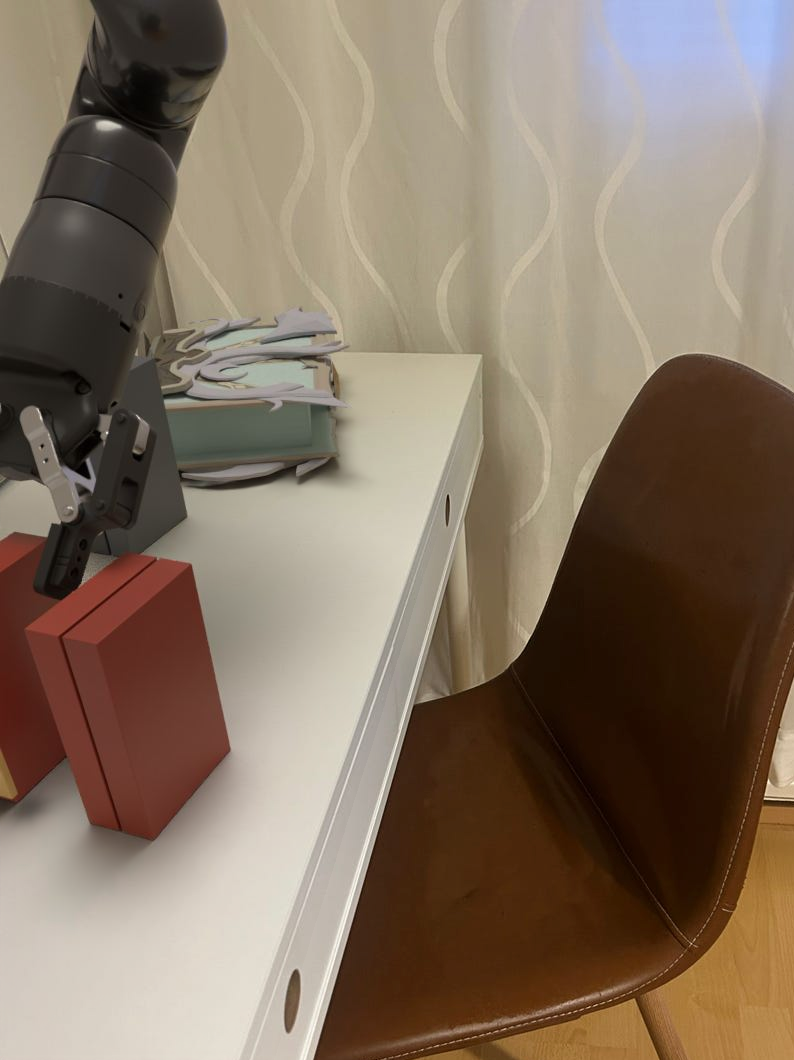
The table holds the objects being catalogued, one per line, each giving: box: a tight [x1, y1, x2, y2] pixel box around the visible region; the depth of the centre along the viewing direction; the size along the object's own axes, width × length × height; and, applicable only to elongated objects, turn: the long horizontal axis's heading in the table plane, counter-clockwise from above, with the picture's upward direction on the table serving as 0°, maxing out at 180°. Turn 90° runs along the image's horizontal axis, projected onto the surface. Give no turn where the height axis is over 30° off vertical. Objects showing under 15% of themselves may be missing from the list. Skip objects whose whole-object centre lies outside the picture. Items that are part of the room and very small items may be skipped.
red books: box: [24, 552, 232, 841], centre depth 53 cm, size 4×8×13 cm, turn 161°
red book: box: [0, 531, 67, 803], centre depth 55 cm, size 3×8×13 cm, turn 161°
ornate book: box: [137, 305, 353, 482], centre depth 98 cm, size 23×10×30 cm
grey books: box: [89, 355, 188, 557], centre depth 78 cm, size 4×8×14 cm, turn 161°
